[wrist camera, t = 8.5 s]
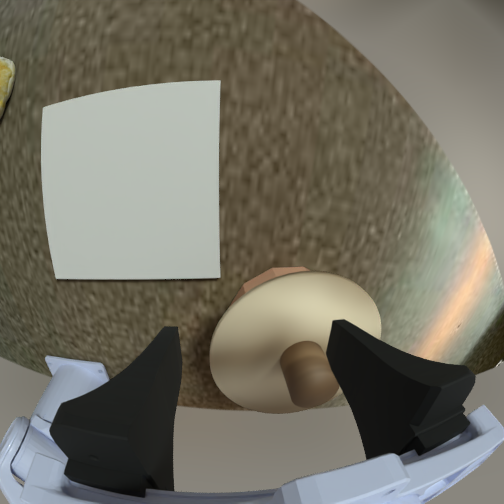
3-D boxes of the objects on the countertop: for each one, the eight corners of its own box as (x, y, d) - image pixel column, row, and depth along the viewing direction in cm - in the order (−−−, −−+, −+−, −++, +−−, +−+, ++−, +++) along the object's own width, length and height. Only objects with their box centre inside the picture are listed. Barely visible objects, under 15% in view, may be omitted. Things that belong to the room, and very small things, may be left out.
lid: (360, 390, 22) (379, 422, 18) (220, 414, 21) (223, 453, 17) (387, 261, 18) (423, 286, 14) (197, 280, 17) (192, 317, 13)
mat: (220, 275, 22) (220, 277, 22) (58, 276, 20) (56, 278, 20) (220, 82, 17) (220, 80, 17) (46, 108, 16) (43, 107, 15)
